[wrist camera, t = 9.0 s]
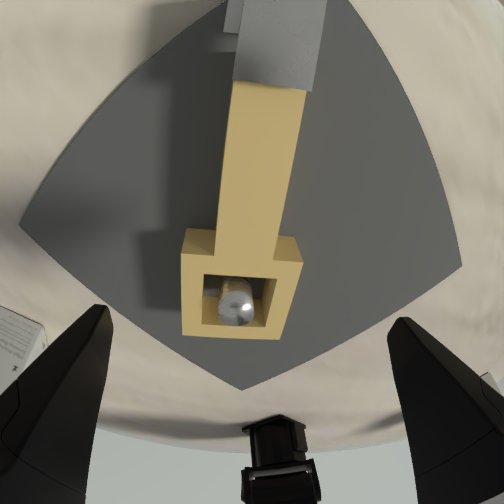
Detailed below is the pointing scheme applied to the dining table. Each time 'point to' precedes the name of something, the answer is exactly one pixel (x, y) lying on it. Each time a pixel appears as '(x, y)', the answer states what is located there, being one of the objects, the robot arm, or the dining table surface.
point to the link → (248, 216)
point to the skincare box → (18, 345)
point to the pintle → (235, 300)
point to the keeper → (276, 40)
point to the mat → (295, 208)
